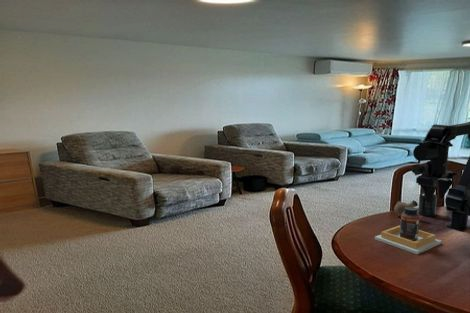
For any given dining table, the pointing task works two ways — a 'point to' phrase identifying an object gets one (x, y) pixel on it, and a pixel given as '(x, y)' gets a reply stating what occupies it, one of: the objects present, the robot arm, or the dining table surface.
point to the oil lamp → (403, 207)
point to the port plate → (418, 246)
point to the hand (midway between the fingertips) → (434, 200)
